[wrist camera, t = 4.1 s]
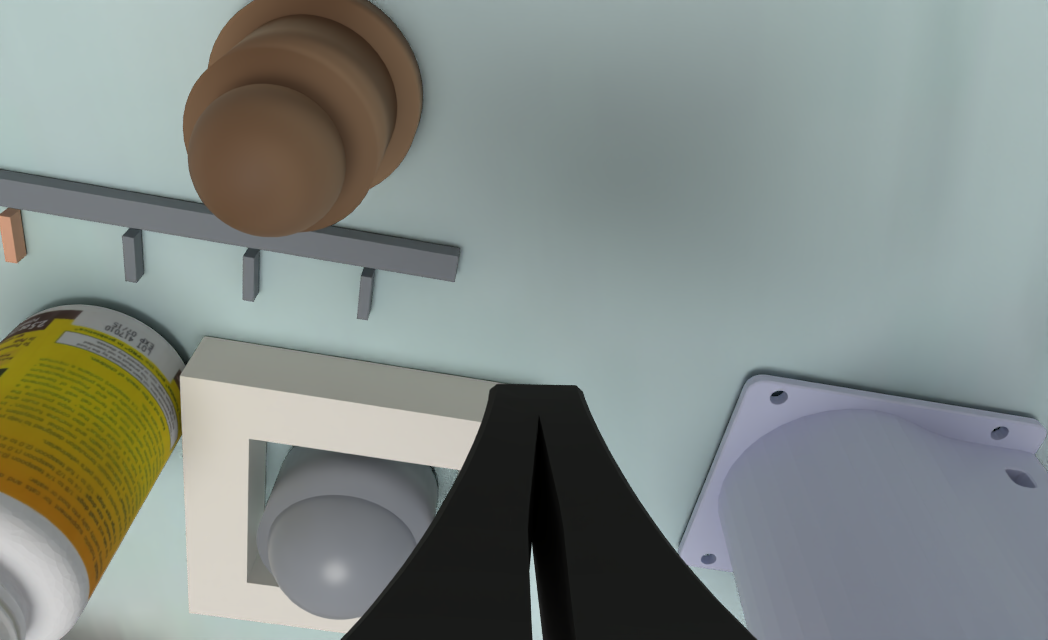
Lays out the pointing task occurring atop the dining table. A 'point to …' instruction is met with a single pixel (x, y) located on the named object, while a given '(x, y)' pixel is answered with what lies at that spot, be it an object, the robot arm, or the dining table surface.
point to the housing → (301, 420)
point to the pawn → (300, 114)
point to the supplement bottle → (76, 455)
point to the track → (211, 233)
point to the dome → (343, 527)
